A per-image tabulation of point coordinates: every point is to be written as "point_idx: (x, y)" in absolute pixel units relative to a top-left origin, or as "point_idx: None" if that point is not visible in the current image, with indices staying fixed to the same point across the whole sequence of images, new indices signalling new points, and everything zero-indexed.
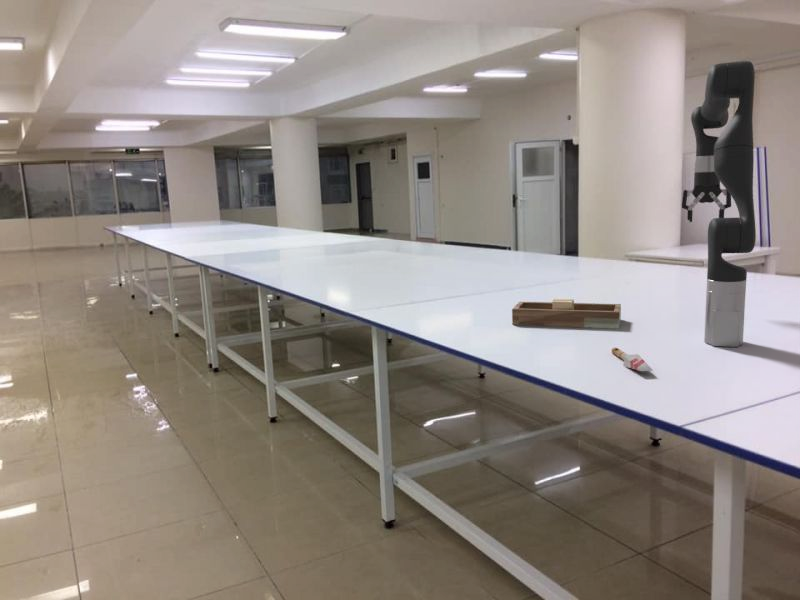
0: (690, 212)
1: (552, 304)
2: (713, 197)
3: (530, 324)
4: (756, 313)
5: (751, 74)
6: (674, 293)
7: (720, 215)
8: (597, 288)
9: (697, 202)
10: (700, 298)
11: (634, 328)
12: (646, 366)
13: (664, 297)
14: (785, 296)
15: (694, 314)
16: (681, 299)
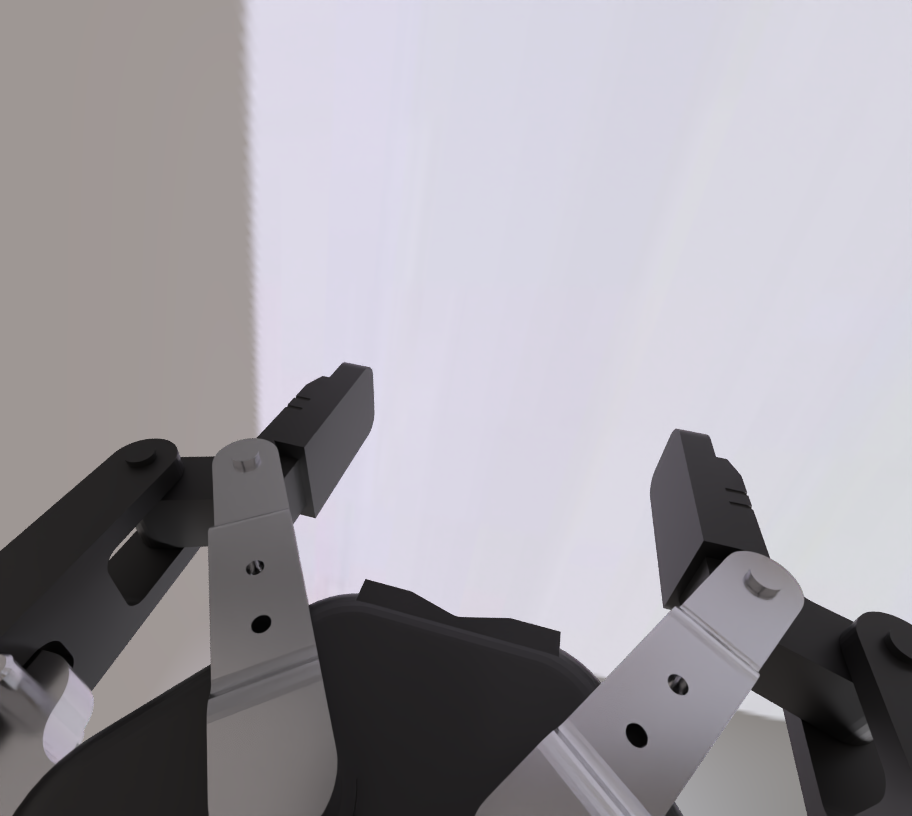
0: (729, 525)
1: None
2: (281, 649)
3: None
4: (372, 91)
5: None
6: (591, 468)
7: (327, 399)
8: (849, 579)
9: (649, 640)
10: (524, 385)
11: None
12: None
13: (650, 412)
14: (276, 391)
15: (642, 36)
16: (597, 374)
